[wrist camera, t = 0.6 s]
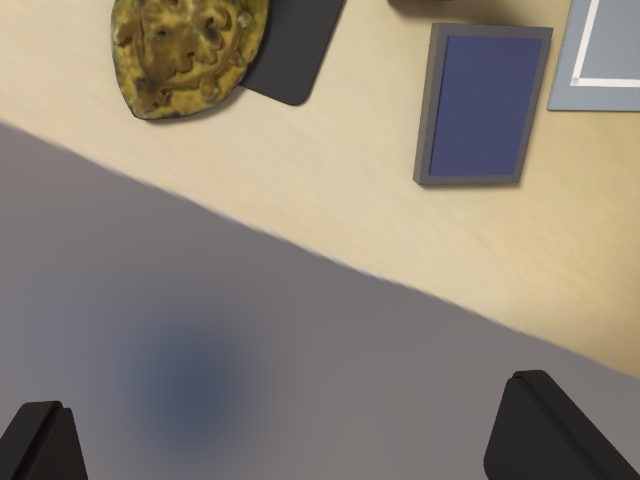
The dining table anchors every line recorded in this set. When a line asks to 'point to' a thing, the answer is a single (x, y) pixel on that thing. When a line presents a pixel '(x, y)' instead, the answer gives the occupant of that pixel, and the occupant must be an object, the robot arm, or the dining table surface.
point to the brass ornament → (183, 52)
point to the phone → (292, 48)
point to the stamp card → (599, 58)
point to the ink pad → (479, 102)
